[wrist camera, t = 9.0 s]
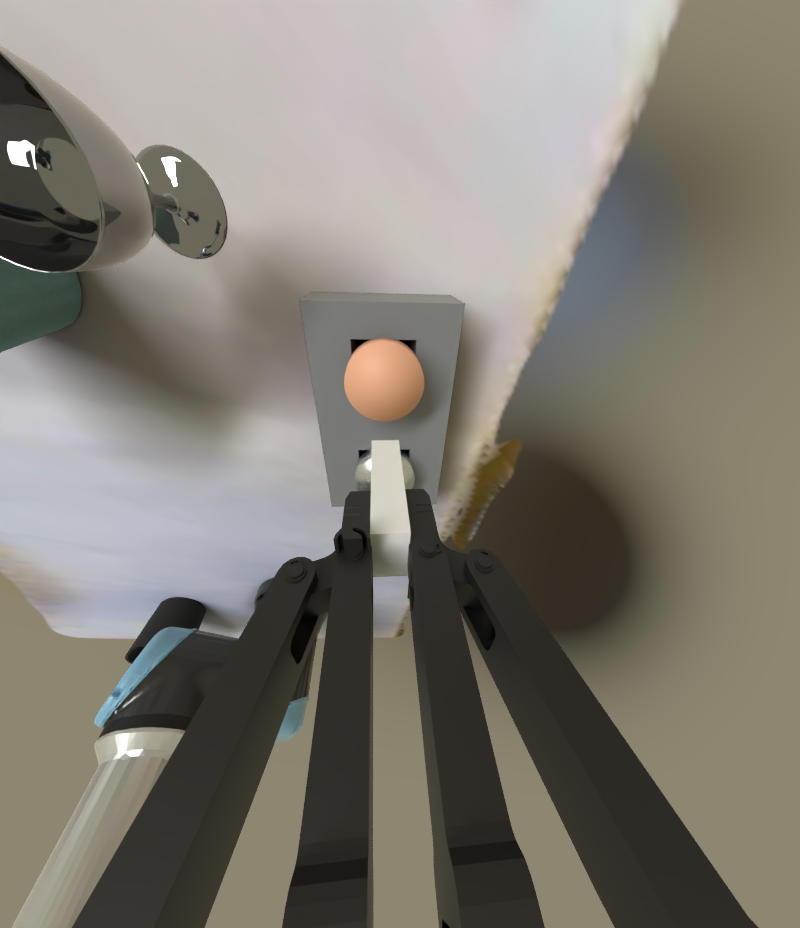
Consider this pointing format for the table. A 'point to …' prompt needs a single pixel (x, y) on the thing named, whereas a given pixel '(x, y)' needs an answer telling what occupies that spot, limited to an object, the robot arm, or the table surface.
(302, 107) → the table surface
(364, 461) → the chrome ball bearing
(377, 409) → the peach rounded piece
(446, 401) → the press console
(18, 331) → the flower pot
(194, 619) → the pen holder
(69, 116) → the wine glass
